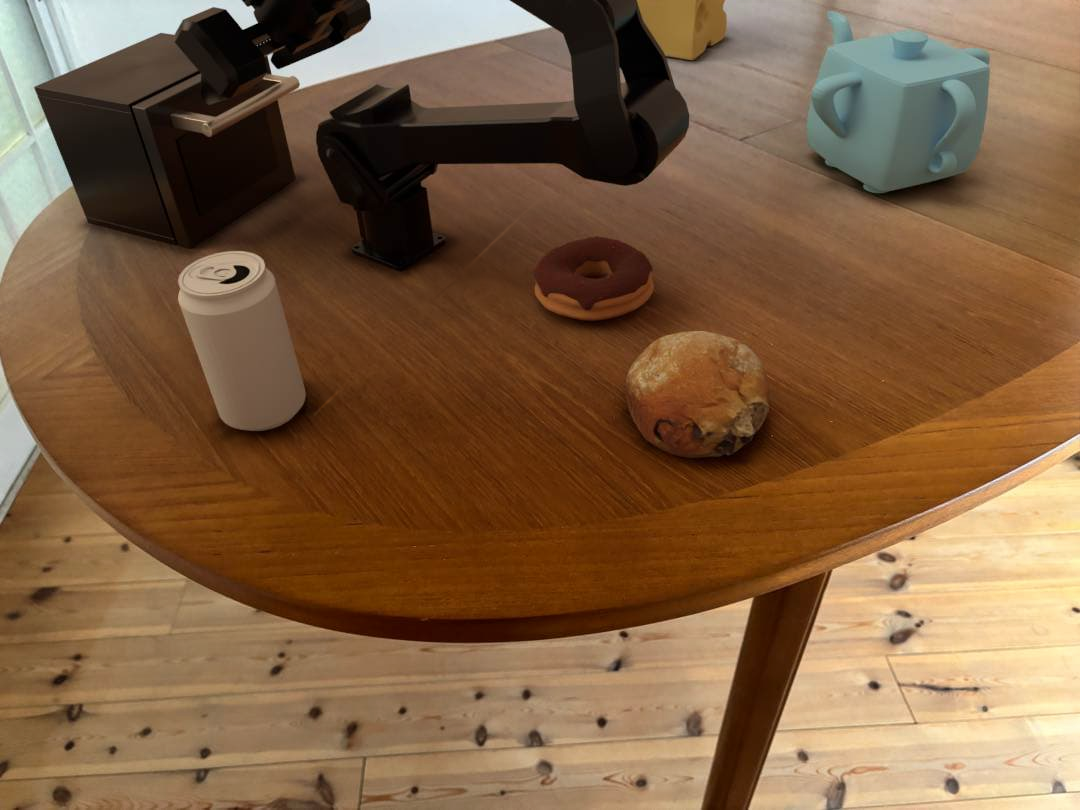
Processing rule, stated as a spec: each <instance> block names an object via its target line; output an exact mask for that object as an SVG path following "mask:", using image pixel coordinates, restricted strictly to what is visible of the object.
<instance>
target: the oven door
mask: <svg viewBox="0 0 1080 810" xmlns="http://www.w3.org/2000/svg"><path fill="white" fill-rule="evenodd" d="M268 56H269V55H268ZM268 56H266V57H265V61H266V67H267V73H266V75H265V76H264V77H263V79H262V80H261V81H260V82H258V83H257V85H258V86H257V87H255V88H253V89H251V90H249V91H247V92H245V93H243V94H242V95H240V96H238V97H235V98H232V99H226V100H223V101H220V102H217V103H214V104H211V105H208V104H207V103H206V102H205V101H204V99H203V98H202V97H201V95H200V91H201V73H200V74H198V75H196V76H194V77H192V78H190V79H188V80H186V81H184V82H182V83H180V84H178V85H176V86H174V87H171V88H169V89H167V90H165V91H163V92H161V93H159V94H157V95H155V96H153V97H151V98H149V99H147V100H145V101H143V102H141V103H139V104H137V105H134V106H132V108H133V111H134V114H135V117H136V120H137V123H138V126H139V129H140V132H141V135H142V138H143V141H144V144H145V147H146V150H147V153H148V156H149V159H150V162H151V165H152V168H153V171H154V174H155V177H156V180H157V183H158V186H159V189H160V192H161V195H162V198H163V201H164V204H165V207H166V210H167V213H168V216H169V219H170V222H171V225H172V228H173V231H174V234H175V237H176V240H177V243H178V245H177V246H179V247H183V248H187V249H192V248H193V247H195V246H197V245H198V244H200V243H201V242H203V241H205V239H207V238H209V237H210V236H212V235H214V233H215V234H216V232H218V231H219V230H221V229H222V228H224V227H226V226H227V225H228V224H230V223H231V222H233V221H235V220H236V219H237V218H239V217H241V216H242V215H243V214H245V213H247V212H248V211H250V210H251V209H252V208H254V207H255V206H257V205H258V204H260V203H262V202H263V201H265V200H266V199H267V198H269V197H270V196H272V195H274V194H275V193H277V192H278V191H280V190H281V189H282V188H284V187H285V186H287V185H289V184H290V183H292V182H293V181H294V180H296V174H295V170H294V166H293V162H292V156H291V152H290V148H289V144H288V143H289V142H288V139H287V135H286V131H285V126H284V122H283V117H282V113H281V109H280V105H279V101H278V100H279V99H281V98H283V97H284V96H286V95H288V94H290V93H292V92H294V91H295V90H297V89H299V88H300V85H301V84H300V80H299V79H298V78H297V77H296V76H294V75H291V76H283V75H277V74H272V70H271V69H272V68H271V64H270V60H269V57H268Z"/></svg>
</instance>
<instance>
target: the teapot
mask: <svg viewBox="0 0 1080 810" xmlns="http://www.w3.org/2000/svg"><path fill="white" fill-rule="evenodd" d="M826 16H827V18H828V20H829V22H830V25H831V29H832V33H833V42H832V43H833V44H830V45H829V46H828V47H827V48H826V52H825V54H824V56H823V59H822V60H823V61H822V63H821V65H820V69H819V72H818V75H817V77H816V80H815V84H814V86H813V88H812V89H811V93H810V103H809V108H808V113H807V119H806V140H807V144H808V146H809V147H810V148H811V149H812V150H813V151H814V152H815V153H817V154H818V155H819V156H820V157H822V158H823V159H824V163H825V164H826V165H827V166H829V167H833V168H836V169H838V170H840V171H841V172H842V173H845V174H846V175H848V176H850V177H852V178H854V179H855V180H857V181H858V182H861V183H862V184H863V185H862V187H863V189H864V190H865V191H867V192H869V193H873V194H885V193H888V192H891V191H897V190H901V189H906V188H910V187H914V186H918V185H922V184H927V183H931V182H934V181H938V180H942V179H946V178H950V177H953V176H957V175H959V174H963V173H964V174H965V173H966V172H968V171H969V170H970V168H971V166H972V164H973V163H974V161H975V159H976V157H977V155H978V153H979V150H980V148H981V143H982V139H983V134H984V129H985V125H986V124H985V123H986V119H987V110H988V102H989V91H990V90H989V89H990V77H991V76H990V75H991V67H990V66H989V64H990V60H991V56H990V53H989V52H988V51H987V50H985V49H984V48H983V49H982V48H980V47H966V48H960V49H959V48H956V47H954V46H951V45H949V44H946V43H944V42H941V41H939V40H936V39H934V38H931V37H929V35H928V34H926V33H924V32H922V31H918V30H912V29H906V30H898V31H896V32H891V33H885V34H879V35H875V36H870V37H863V38H859V39H854V34H853V30H852V27H851V25H850V23H849V20H848V19H847V18H846V17H845V16H844V15H843V14H841V13H839V12H837V11H831V10H829V11H827V12H826Z"/></svg>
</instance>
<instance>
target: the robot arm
mask: <svg viewBox="0 0 1080 810" xmlns="http://www.w3.org/2000/svg"><path fill="white" fill-rule="evenodd" d="M241 2H242V3H243V4H244V5H245V6H246V7H248V8H249V7H252V8H253V9H254V10H253V15H254V18H255V21H256V22H257V23H254V24H253V25H250V26H247V27H246V28H244V29H243V28H242V27H241V26H240V24H239V23H238V22H237V20H235V18H234V17H233V16H232V15H231V13H230V12H229V11H228V10H227V9H225V8H220V7H215V6H213V7H210V8H207V9H205V10H203V11H201V12H198V13H196V14H194V15H191V16H189V17H186V18H184V19H182V20H181V22H180V24H179V26H178V28H177V29H176V31H175V33H174V35H175V43H176V45H177V46H178V47H179V48H180V49H181V50H182V52H183V53H184V54H185V55H186V56H187V58H188V59H189V60H190V61H191V62H192V63H193V65H194V66H195V67H196V68H197V69H198V70H199V72H200V73H201V91H200V95H201V97H202V98H203V99H204V101H205V102H206V103H207V104H208V105H211V104H214V103H217V102H220V101H223V100H226V99H232V98H235V97H238V96H240V95H242V94H243V93H245V92H247V91H249V90H251V89H253V88H255V87H257V86H258V85H257V83H258V82H260V81H261V80H262V79H263V77H264V76H265V75H266V73H267V67H266V61H265V57H266V56H269V55H271V58H270V62H271V64H272V65H273V66H274V67H275V69H276V70H281V69H283V68H285V67H288V66H291V65H293V64H295V63H297V62H300V61H302V60H304V59H308V58H309V57H312V56H314V55H317V54H319V53H322V52H325V51H326V50H330V49H331V48H334V47H335V46H337V45H340V44H342V43H343V42H345V41H347V40H349V39H350V38H352V37H353V36H354V35H357V34H359V33H361V32H363V30H364V29H365V28H366V26H367V25H368V24H369V22H371V20H372V14H371V13H372V12H371V11H372V10H371V4H370V2H369V1H368V0H241ZM509 2H511V3H512V4H514V5H516V6H517V7H519V8H521V9H522V10H524V11H526V12H527V13H528V14H530V15H532V16H534V17H535V18H536V19H538V20H540V21H541V22H543V23H545V24H547V25H548V26H550V27H551V28H553V29H555V30H556V31H557V32H559V33H560V34H562V35H563V38H564V40H565V43H566V47H567V49H568V52H569V54H570V55H569V56H570V63H571V77H572V90H573V99H572V100H568V101H554V102H551V101H550V102H533V103H532V102H531V103H509V104H488V105H487V104H486V105H485V104H484V105H466V106H465V105H464V106H463V105H462V106H445V107H444V106H443V107H442V106H441V107H424V106H421V105H420V104H418V103H417V102H415V101H414V100H412V97H411V96H412V95H411V89H410V85H409V84H408V83H407V84H406V83H405V84H402V85H399V86H396V87H395V86H394V87H385V86H382V85H380V84H375V85H373V86H371V87H369V88H368V89H366V90H364V91H363V92H360V93H358V94H357V95H356V96H354V97H351V98H350V99H349V100H347V101H346V102H344V103H342V104H340V105H339V106H337V107H335V108H333V109H332V110H329V115H330V116H329V117H327V118H326V119H324V120H322V121H321V122H320V123H318V124H317V130H316V135H315V143H316V148H317V156H318V158H319V160H320V162H321V164H322V166H323V169H324V170H325V173H326V175H327V177H328V180H329V181H330V183H331V185H332V188H333V189H334V192H335V194H336V195H337V197H338V200H339V201H340V202H341V203H342V204H345V205H349V206H350V207H352V209H353V211H355V213H356V218H357V219H356V220H357V224H358V229H359V235H360V238H362V240H361V241H359V242H357V243H355V244H353V245H352V246H351V253H352V254H353V255H356V256H359V257H362V258H364V259H366V260H369V261H371V262H374V263H377V264H380V265H382V266H385V267H386V268H390V269H393V270H395V271H403V270H405V269H407V268H409V267H411V266H412V265H414V264H415V263H416V262H418V261H420V260H421V259H422V258H424V257H426V256H427V255H429V254H430V253H432V252H434V251H435V250H437V249H438V248H439V247H441V246H443V245H444V244H446V243H447V239H446V236H445V235H442V234H439V233H436V232H433V226H432V217H431V210H430V203H429V195H428V190H427V187H425V186H422V182H423V181H425V180H426V179H428V178H429V177H430V176H432V175H434V174H436V173H437V171H438V166H439V165H514V164H515V165H520V164H521V165H522V164H525V165H526V164H527V165H528V164H533V165H534V164H541V165H543V164H555V165H561V166H563V167H565V168H567V169H568V170H570V171H571V172H573V173H574V174H576V175H578V176H579V177H581V178H583V179H585V180H588V181H589V180H590V181H595V182H601V183H607V184H612V185H617V186H625V187H627V186H632V185H637V184H639V183H641V182H643V181H644V180H645V179H647V178H648V177H649V176H650V175H651V174H652V173H653V172H654V171H655V170H656V169H657V168H658V167H659V166H660V165H661V164H662V163H663V162H664V161H665V160H666V158H668V156H670V154H672V152H673V151H674V150H675V149H676V148H677V147H678V146H679V145H680V144H681V143H682V141H683V140H684V139H685V138H686V136H687V133H688V130H689V127H690V111H689V107H688V104H687V102H686V99H685V98H684V97H683V95H682V93H681V92H680V91H679V90H678V89H677V88H676V85H675V81H674V79H673V74H672V72H671V69H670V65H669V62H668V59H667V56H665V54H664V52H663V50H662V49H661V47H660V46H659V44H658V43H657V41H656V40H655V38H654V37H653V35H652V34H651V32H650V30H649V29H648V27H647V26H646V24H645V23H644V21H643V19H642V15H641V12H640V9H639V6H638V3H637V0H509ZM621 72H622V75H623V78H624V81H623V82H622V81H621Z"/></svg>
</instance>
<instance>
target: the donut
mask: <svg viewBox="0 0 1080 810" xmlns="http://www.w3.org/2000/svg"><path fill="white" fill-rule="evenodd" d="M653 268H654V267H653V266H652V263H651V262H650V260H649V259H648V257H647V255H646V254H645V253H643V251H640V250H638V249H637V248H636V247H635V246H632V245H631V244H629V243H626V242H624V241H620V240H619V239H614V238H610V237H605V236H604V237H603V236H596V235H595V236H590V237H586V238H581V239H577V240H573V241H569V242H566V243H564V244H562V245H559V246H556V247H554V248H553V249H551V250H549V251H548V252H546V253H545V254H544V256H542V258H541V259H540V260H539V261H538V263H537V265H535V268H534V270H533V274H532V275H533V278H534V281H535V286H534V294H535V296H536V298H537V300H538V301H539V302H540V303H541V305H542V306H543V308H545V309H546V310H548V311H550V312H551V313H554V314H556V315H558V316H563V317H566V318H570V319H573V320H579V321H590V322H591V321H604V320H609V319H613V318H617V317H620V316H623V315H626V314H628V313H631V312H633V311H635V310H637V309H639V308H641V307H642V306H643V305H644V304H645V303H646V302H647V301H649V299H650V297H651V295H652V294H653V293H654V287H655V283H654V280H653V278H652V277H653V276H652V272H653V271H654V269H653Z"/></svg>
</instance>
